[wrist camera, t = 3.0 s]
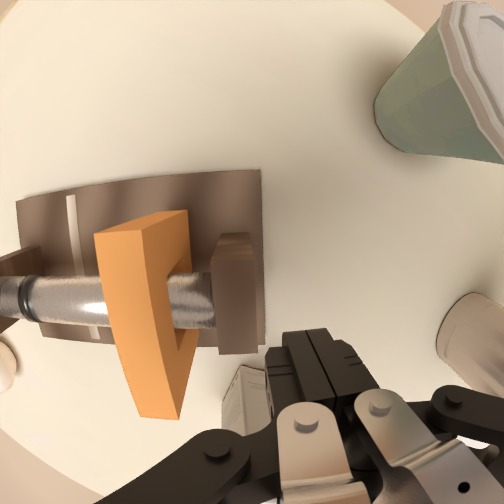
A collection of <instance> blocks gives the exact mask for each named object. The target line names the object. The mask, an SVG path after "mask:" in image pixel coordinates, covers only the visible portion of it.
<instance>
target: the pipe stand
mask: <svg viewBox="0 0 504 504" xmlns="http://www.w3.org/2000/svg"><path fill="white" fill-rule="evenodd" d="M16 210H17V221H18V230H19V238H20V245H21V249H20V250H17V251H15V252H12V253H10V254H7V255H4V256H2V257H0V276H28V275H44V276H87V275H100V274H99V268H98V262H97V255H96V248H95V241H94V233H97V232H100V231H103V230H105V229H108V228H111V227H114V226H117V225H120V224H123V223H126V222H129V221H132V220H135V219H138V218H141V217H144V216H147V215H150V214H153V213H156V212H163V211H176V210H188V225H189V238H190V251H191V262H192V272H211V278H212V290H213V301H214V311H215V321H216V328H199V332H200V333H199V337H198V341H197V345H196V347H218V349H219V355H226V354H250V353H258V345H265V306H264V268H263V235H262V205H261V177H260V170H237V171H218V172H203V173H190V174H178V175H168V176H158V177H149V178H141V179H133V180H125V181H118V182H111V183H105V184H98V185H92V186H86V187H81V188H75V189H70V190H64V191H59V192H54V193H50V194H45V195H40V196H36V197H31V198H27V199H23V200H19V201H16ZM18 320H19V319H18V318H11V317H5V316H0V334H1V333H2V332H3V331H5V330H6V329H7V328H9V327H10V326H11V325H13V324H14V323H15V322H17V321H18ZM39 326H40V329H41V332H42V335H43V337H50V338H57V339H65V340H73V341H82V342H92V343H103V344H115V341H114V337H113V333H112V329H111V327H102V326H86V325H73V324H62V323H52V322H45V323H39Z"/></svg>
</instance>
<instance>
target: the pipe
mask: <svg viewBox="0 0 504 504" xmlns="http://www.w3.org/2000/svg"><path fill="white" fill-rule="evenodd" d="M166 279H167V286H168V294H169V301H170V307H171V314H172V320H173V326H174V329H195V328H216V321H215V311H214V301H213V290H212V278H211V272H191V273H169V274H168V275H167V276H166ZM0 316H5V317H11V318H18V319H26V320H28V321H31V322H38V323H45V322H52V323H62V324H73V325H86V326H102V327H111V325H110V321H109V317H108V313H107V309H106V304H105V300H104V295H103V290H102V285H101V279H100V275H87V276H44V275H28V276H0Z"/></svg>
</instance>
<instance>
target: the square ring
mask: <svg viewBox="0 0 504 504" xmlns="http://www.w3.org/2000/svg"><path fill="white" fill-rule="evenodd" d="M94 241H95V248H96V255H97V262H98V268H99V274H100V279H101V285H102V290H103V295H104V300H105V304H106V309H107V313H108V317H109V321H110V325H111V329H112V333H113V337H114V341H115V344H116V348H117V351H118V355H119V358H120V361H121V364H122V368H123V371H124V374H125V377H126V380H127V383H128V385H129V388H130V391H131V394H132V397H133V399H134V402H135V405H136V407H137V410H138V412H139V415H140V417H146V418H156V419H167V420H179V417H180V412H181V408H182V404H183V399H184V395H185V391H186V386H187V382H188V378H189V374H190V370H191V365H192V361H193V357H194V353H195V349H196V345H197V341H198V337H199V333H200V332H199V328H195V329H174V326H173V320H172V314H171V307H170V301H169V294H168V286H167V279H166V276H167V275H168V274H169V273H191V272H192V262H191V251H190V238H189V225H188V210H176V211H163V212H156V213H153V214H150V215H147V216H144V217H141V218H138V219H135V220H132V221H129V222H126V223H123V224H120V225H117V226H114V227H111V228H108V229H105V230H103V231H100V232H97V233H94Z"/></svg>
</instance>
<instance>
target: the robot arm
mask: <svg viewBox="0 0 504 504" xmlns="http://www.w3.org/2000/svg"><path fill="white" fill-rule="evenodd" d="M437 353H438V355H439V357H440V358H441V359H442V360H443V361H444V362H445V363H446V364H447V365H448V366H450V367H451V368H452V369H453V370H454V371H455V372H456V373H457V374H458V375H459V376H460V377H461V378H462V379H463V380H464V381H465V382H466V383H467V384H468V385H469V386H470V387H471V388H472V389H473V390H471V389H467V388H464V387H460V386H456V385H446V386H442V387H440V388H438V389H437V390H436V391H435V392H434V394H433V396H432V398H431V401H421V402H405V401H404V400H403V399H402V397H400V396H399V395H398V394H397V393H395V392H393V391H390V390H386V389H381V388H380V387H379V385H378V384H377V382H376V381H375V380H374V378H373V377H372V375H371V374H370V372H369V371H368V369H367V368H366V366H365V365H364V364H363V362H362V360H361V359H360V357H358V355H357V353H356V352H355V350H354V349H353V347H352V346H351V345H349V344H347V343H346V342H344V341H343V340H333V338H332V337H331V335H330V333H329V332H328V330H327V329H326V328H320V329H311V330H305V331H304V330H302V331H292V332H283V334H282V347H270V348H269V349H268V351H267V353H266V355H265V390H266V397H267V403H268V409H269V416H270V423H269V424H268V425H267V426H266V427H265V428H263V429H262V430H260V431H258V432H255V433H253V434H249V435H246V436H241V435H240V434H238V433H236V432H234V431H231V430H227V429H211V430H206V431H203V432H201V433H199V434H197V435H196V436H194V437H193V438H191V439H190V440H189V441H188V442H186V443H185V444H184V445H182V446H181V447H180V448H178V449H177V450H176V451H174V452H173V453H172V454H170V455H169V456H168V457H166V458H165V459H163V460H162V461H161V462H159V463H158V464H156V465H155V466H153V467H152V468H151V469H149V470H148V471H146V472H145V473H143V474H142V475H140V476H139V477H137V478H136V479H134V480H132V481H131V482H129V483H128V484H126V485H125V486H123V487H121V488H120V489H118V490H116V491H115V492H113V493H111V494H110V495H108V496H106V497H105V498H103V499H101V500H99V501H98V502H96V503H94V504H261V503H264V502H267V501H269V500H272V499H275V498H276V504H504V307H502V306H500V305H499V304H497V303H495V302H493V301H491V300H490V299H488V298H486V297H484V296H482V295H480V294H479V293H470V294H468V295H466V296H464V297H463V298H461V299H460V300H459V301H458V302H457V303H456V304H455V305H454V306H453V307H452V309H451V310H450V311H449V313H448V314H447V316H446V318H445V319H444V321H443V323H442V326H441V328H440V331H439V334H438V338H437ZM458 435H459V436H463V437H466V438H469V439H473V440H477V441H480V442H484V443H488V444H490V445H489V446H488V447H486V448H484V449H475V448H472V447H468V446H466V445H465V444H464V443H463V442H462V441H460V440H458V439H456V438H457V436H458Z"/></svg>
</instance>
